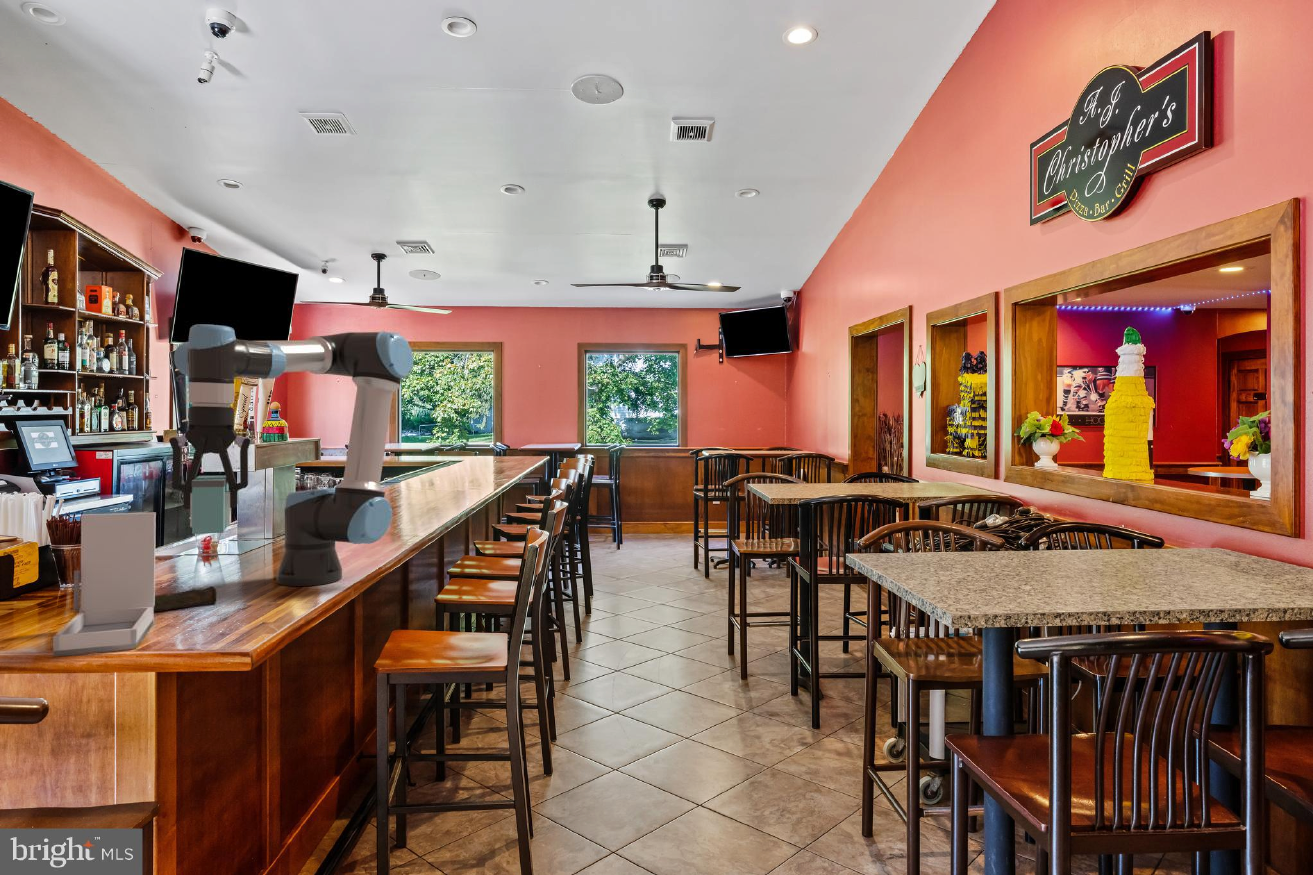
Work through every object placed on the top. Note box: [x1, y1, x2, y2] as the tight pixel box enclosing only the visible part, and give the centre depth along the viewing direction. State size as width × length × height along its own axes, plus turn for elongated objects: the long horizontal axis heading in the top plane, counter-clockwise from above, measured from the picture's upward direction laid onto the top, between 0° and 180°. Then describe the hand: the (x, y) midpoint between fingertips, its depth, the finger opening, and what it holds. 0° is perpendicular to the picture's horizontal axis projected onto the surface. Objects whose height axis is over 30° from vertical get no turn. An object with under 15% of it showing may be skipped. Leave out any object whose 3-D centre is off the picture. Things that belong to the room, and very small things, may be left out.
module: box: [191, 475, 230, 535], centre depth 138 cm, size 5×10×10 cm, turn 27°
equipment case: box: [52, 511, 157, 658], centre depth 132 cm, size 12×18×22 cm
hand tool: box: [154, 585, 217, 612], centre depth 151 cm, size 19×4×5 cm, turn 137°
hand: (210, 524), depth 138 cm, fingers closed on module, 5 cm apart
